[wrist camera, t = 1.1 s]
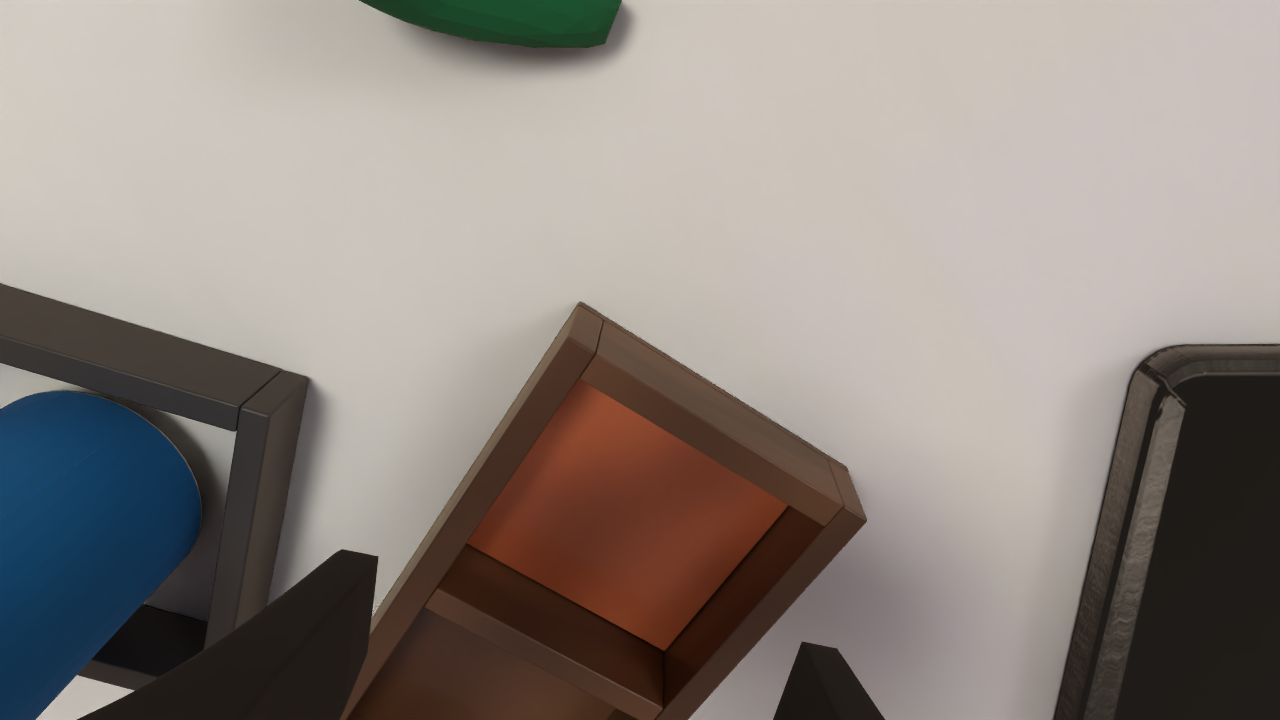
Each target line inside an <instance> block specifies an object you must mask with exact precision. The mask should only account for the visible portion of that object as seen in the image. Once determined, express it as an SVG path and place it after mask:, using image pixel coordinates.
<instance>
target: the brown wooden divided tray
mask: <svg viewBox="0 0 1280 720" xmlns="http://www.w3.org/2000/svg"><path fill="white" fill-rule="evenodd" d="M866 522H867V518H866V515H865V513H864V510H863V508H862V505H861V503H860V500H859V498H858V495H857V493H856V490H855V488H854V485H853V483H852V480H851V478H850V475H849V473H848V469H847V467H846V466H844V465H842V464H841V463H839V462H837V461H836V460H834V459H833V458H831V457H829V456H828V455H826V454H825V453H823V452H821V451H820V450H818V449H817V448H815V447H813V446H812V445H810V444H809V443H807V442H805V441H804V440H802V439H801V438H799V437H797V436H796V435H794V434H793V433H791V432H789V431H788V430H786V429H784V428H783V427H781V426H780V425H778V424H776V423H775V422H773V421H772V420H770V419H768V418H767V417H765V416H764V415H762V414H760V413H759V412H757V411H756V410H754V409H752V408H751V407H749V406H748V405H746V404H744V403H743V402H741V401H740V400H738V399H736V398H735V397H733V396H732V395H730V394H728V393H727V392H725V391H723V390H722V389H720V388H719V387H717V386H715V385H714V384H712V383H711V382H709V381H707V380H706V379H704V378H703V377H701V376H699V375H698V374H696V373H695V372H693V371H691V370H690V369H688V368H687V367H685V366H683V365H682V364H680V363H679V362H677V361H675V360H674V359H672V358H670V357H669V356H667V355H666V354H664V353H662V352H661V351H659V350H658V349H656V348H654V347H653V346H651V345H650V344H648V343H646V342H645V341H643V340H642V339H640V338H638V337H637V336H635V335H634V334H632V333H630V332H629V331H627V330H626V329H624V328H622V327H621V326H619V325H618V324H616V323H614V322H613V321H611V320H609V319H608V318H606V317H605V316H603V315H601V314H600V313H598V312H597V311H595V310H593V309H592V308H590V307H589V306H587V305H585V304H584V303H582V302H579V303H578V304H577V306H576V307H575V309H574V311H573V312H572V314H571V315H570V317H569V318H568V320H567V321H566V323H565V324H564V326H563V327H562V329H561V330H560V332H559V333H558V335H557V336H556V338H555V340H554V341H553V343H552V344H551V346H550V347H549V349H548V350H547V352H546V353H545V355H544V356H543V358H542V359H541V361H540V362H539V364H538V365H537V367H536V369H535V370H534V372H533V373H532V375H531V376H530V378H529V379H528V381H527V382H526V384H525V385H524V387H523V388H522V390H521V391H520V393H519V394H518V396H517V398H516V399H515V401H514V402H513V404H512V405H511V407H510V408H509V410H508V411H507V413H506V414H505V416H504V417H503V419H502V420H501V422H500V423H499V425H498V427H497V428H496V430H495V431H494V433H493V434H492V436H491V437H490V439H489V440H488V442H487V443H486V445H485V446H484V448H483V449H482V451H481V452H480V454H479V456H478V457H477V459H476V460H475V462H474V463H473V465H472V466H471V468H470V469H469V471H468V472H467V474H466V475H465V477H464V478H463V480H462V481H461V483H460V484H459V486H458V488H457V489H456V491H455V492H454V494H453V495H452V497H451V498H450V500H449V501H448V503H447V504H446V506H445V507H444V509H443V510H442V512H441V513H440V515H439V517H438V518H437V520H436V521H435V523H434V524H433V526H432V527H431V529H430V530H429V532H428V533H427V535H426V536H425V538H424V539H423V541H422V542H421V544H420V546H419V547H418V549H417V550H416V552H415V553H414V555H413V556H412V558H411V559H410V561H409V562H408V564H407V565H406V567H405V568H404V570H403V571H402V573H401V575H400V576H399V578H398V579H397V581H396V582H395V584H394V585H393V587H392V588H391V590H390V591H389V593H388V594H387V596H386V597H385V599H384V600H383V602H382V604H381V605H380V607H379V608H378V610H377V611H376V613H375V614H374V616H373V617H372V619H371V626H370V635H369V644H368V652H367V655H366V658H365V660H364V663H363V665H362V668H361V670H360V673H359V676H358V678H357V681H356V683H355V686H354V688H353V690H352V693H351V695H350V698H349V700H348V702H347V705H346V707H345V710H344V712H343V714H342V716H341V717H340V719H339V720H688V719H689V718H690V717H691V715H692V714H693V713H694V712H695V711H696V710H697V709H698V708H699V707H700V705H701V704H702V703H703V702H704V701H705V700H706V699H707V698H708V697H709V696H710V694H711V693H712V692H713V691H714V690H715V689H716V688H717V687H718V686H719V684H720V683H721V682H722V681H723V680H724V679H725V678H726V677H727V676H728V675H729V673H730V672H731V671H732V670H733V669H734V668H735V667H736V666H737V665H738V663H739V662H740V661H741V660H742V659H743V658H744V657H745V656H746V655H747V653H748V652H749V651H750V650H751V649H752V648H753V647H754V646H755V645H756V644H757V642H758V641H759V640H760V639H761V638H762V637H763V636H764V635H765V634H766V632H767V631H768V630H769V629H770V628H771V627H772V626H773V625H774V624H775V623H776V621H777V620H778V619H779V618H780V617H781V616H782V615H783V614H784V613H785V611H786V610H787V609H788V608H789V607H790V606H791V605H792V604H793V603H794V602H795V600H796V599H797V598H798V597H799V596H800V595H801V594H802V593H803V592H804V590H805V589H806V588H807V587H808V586H809V585H810V584H811V583H812V582H813V580H814V579H815V578H816V577H817V576H818V575H819V574H820V573H821V572H822V571H823V569H824V568H825V567H826V566H827V565H828V564H829V563H830V562H831V561H832V559H833V558H834V557H835V556H836V555H837V554H838V553H839V552H840V551H841V550H842V548H843V547H844V546H845V545H846V544H847V543H848V542H849V541H850V540H851V538H852V537H853V536H854V535H855V534H856V533H857V532H858V531H859V530H860V529H861V527H862V526H863V525H864V524H865V523H866Z"/></svg>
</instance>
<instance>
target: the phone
mask: <svg viewBox="0 0 1280 720" xmlns="http://www.w3.org/2000/svg"><path fill="white" fill-rule="evenodd" d="M1055 720H1280V344H1228V345H1178V346H1171V347H1168V348H1166V349H1163V350H1161V351H1159V352H1156V353H1155V354H1153V355H1152V356H1151V357H1149V358H1148V359H1147V360H1145V361H1144V362H1143V364H1142V365H1141V366H1140V367H1139V369H1138V370H1137V371H1136V372H1135V375H1134V377H1133V380H1132V382H1131V385H1130V389H1129V393H1128V398H1127V402H1126V406H1125V411H1124V415H1123V420H1122V424H1121V429H1120V433H1119V438H1118V442H1117V446H1116V451H1115V455H1114V460H1113V464H1112V469H1111V473H1110V478H1109V482H1108V486H1107V491H1106V495H1105V500H1104V504H1103V509H1102V513H1101V518H1100V522H1099V526H1098V531H1097V535H1096V540H1095V544H1094V549H1093V553H1092V558H1091V562H1090V566H1089V571H1088V575H1087V580H1086V584H1085V589H1084V593H1083V598H1082V602H1081V606H1080V611H1079V615H1078V620H1077V624H1076V629H1075V633H1074V638H1073V642H1072V646H1071V651H1070V655H1069V660H1068V664H1067V669H1066V673H1065V677H1064V682H1063V686H1062V691H1061V695H1060V700H1059V704H1058V709H1057V713H1056V717H1055Z"/></svg>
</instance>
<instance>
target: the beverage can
mask: <svg viewBox="0 0 1280 720" xmlns="http://www.w3.org/2000/svg"><path fill="white" fill-rule="evenodd" d="M201 522H202V503H201V496H200V492H199V488H198V484H197V482H196V479H195V477H194V474H193V472H192V470H191V468H190V467H189V465H188V463H187V461H186V459H185V458H184V457H183V455H182V454H181V452H180V451H179V450H178V448H177V447H176V446H175V445H174V444H173V443H172V442H171V440H170V439H169V438H168V437H167V436H166V435H165V434H164V433H163V432H161V431H160V430H159V429H158V428H157V427H156V426H155V425H153V424H152V423H151V422H149V421H148V420H147V419H145V418H144V417H143V416H141V415H139V414H137V413H136V412H134V411H132V410H131V409H129V408H127V407H125V406H123V405H121V404H118V403H116V402H114V401H111V400H108V399H105V398H103V397H100V396H96V395H91V394H87V393H82V392H73V391H50V392H42V393H37V394H33V395H30V396H26V397H24V398H21V399H19V400H17V401H15V402H13V403H11V404H9V405H7V406H6V407H4V408H2V409H0V720H36V718H37V717H38V716H39V715H40V714H41V713H42V712H43V711H44V710H45V709H46V708H47V707H48V705H49V704H50V703H51V702H52V701H53V700H54V699H55V698H56V697H57V696H58V695H59V694H60V692H61V691H62V690H63V689H64V688H65V687H66V686H67V685H68V684H69V683H70V682H71V681H72V679H73V678H74V677H75V676H76V675H77V674H78V673H79V672H80V671H81V670H82V669H83V668H84V666H85V665H86V664H87V663H88V662H89V661H90V660H91V659H92V658H93V657H94V656H95V655H96V653H97V652H98V651H99V650H100V649H101V648H102V647H103V646H104V645H105V644H106V643H107V642H108V640H109V639H110V638H111V637H112V636H113V635H114V634H115V633H116V632H117V631H118V630H119V629H120V627H121V626H122V625H123V624H124V623H125V622H126V621H127V620H128V619H129V618H130V617H131V616H132V614H133V613H134V612H135V611H136V610H137V609H138V608H139V607H140V606H141V605H142V604H143V603H144V602H145V600H146V599H147V598H148V597H149V596H150V595H151V594H152V593H153V592H154V591H155V590H156V589H157V587H158V586H159V585H160V584H161V583H162V582H163V581H164V580H165V579H166V578H167V577H168V576H169V574H170V573H171V572H172V571H173V570H174V569H175V568H176V567H177V566H178V565H179V564H180V563H181V561H182V560H183V559H184V558H185V557H186V556H187V555H188V554H189V552H190V551H191V549H192V547H193V546H194V544H195V542H196V539H197V537H198V534H199V531H200V527H201Z"/></svg>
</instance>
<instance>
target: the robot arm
mask: <svg viewBox="0 0 1280 720" xmlns="http://www.w3.org/2000/svg"><path fill="white" fill-rule="evenodd" d="M377 565H378V556H373V555H368V554H363V553H358V552H353V551H348V550H343V549H341V550H340V551H338V552H336V553H335V554H333V555H332V556H331V557H330V558H328V559H327V560H326V561H325V562H323V563H322V564H321V565H320V566H318V567H317V568H316V569H315V570H313V571H312V572H311V573H310V574H308V575H307V576H306V577H305V578H303V579H302V580H301V581H300V582H298V583H297V584H296V585H295V586H293V587H292V588H291V589H289V590H288V591H287V592H285V593H284V594H283V595H282V596H280V597H279V598H278V599H276V600H275V601H274V602H272V603H271V604H269V605H268V606H267V607H265V608H264V609H263V610H261V611H260V612H258V613H257V614H256V615H254V616H253V617H252V618H250V619H249V620H248V621H246V622H245V623H243V624H242V625H241V626H239V627H238V628H236V629H235V630H233V631H232V632H230V633H229V634H227V635H226V636H224V637H223V638H221V639H220V640H218V641H217V642H215V643H214V644H212V645H211V646H209V647H208V648H206V649H205V650H203V651H201V652H200V653H198V654H197V655H195V656H194V657H192V658H191V659H189V660H187V661H186V662H184V663H183V664H181V665H179V666H178V667H176V668H174V669H173V670H171V671H169V672H168V673H166V674H164V675H162V676H161V677H159V678H157V679H155V680H154V681H152V682H150V683H148V684H146V685H145V686H143V687H141V688H139V689H137V690H136V691H134V692H132V693H130V694H128V695H126V696H125V697H123V698H121V699H119V700H117V701H115V702H113V703H111V704H109V705H106V706H104V707H102V708H100V709H98V710H96V711H94V712H92V713H90V714H88V715H86V716H83V717H81V718H79V719H77V720H339V719H340V717H341V716H342V714H343V712H344V710H345V707H346V705H347V702H348V700H349V698H350V695H351V693H352V690H353V688H354V686H355V683H356V681H357V678H358V676H359V673H360V670H361V668H362V665H363V663H364V660H365V658H366V655H367V652H368V644H369V635H370V626H371V618H372V609H373V600H374V591H375V583H376V574H377ZM773 720H885V719H884V717H883V716H882V715H881V713H880V712H879V710H878V709H877V707H876V706H875V704H874V703H873V701H872V700H871V698H870V697H869V695H868V694H867V692H866V691H865V689H864V688H863V686H862V685H861V683H860V682H859V680H858V679H857V677H856V676H855V674H854V673H853V671H852V670H851V668H850V667H849V665H848V664H847V662H846V661H845V659H844V658H843V657H842V655H841V654H840V652H839V651H838V649H837V648H832V647H827V646H822V645H817V644H812V643H807V642H802V643H801V645H800V648H799V651H798V653H797V656H796V659H795V662H794V664H793V667H792V670H791V672H790V675H789V678H788V681H787V683H786V686H785V689H784V691H783V694H782V697H781V700H780V702H779V705H778V708H777V710H776V713H775V716H774V719H773Z"/></svg>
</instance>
